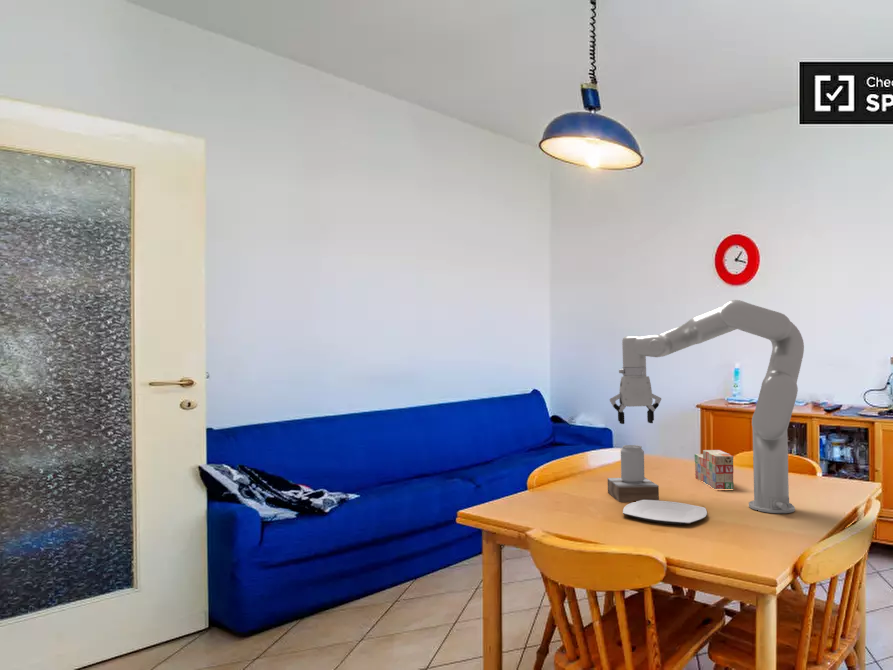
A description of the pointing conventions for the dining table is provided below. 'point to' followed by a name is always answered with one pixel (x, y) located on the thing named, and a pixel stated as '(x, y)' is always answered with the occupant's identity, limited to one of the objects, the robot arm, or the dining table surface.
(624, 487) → the riser
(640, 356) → the robot arm
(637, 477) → the can
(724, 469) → the stack of blocks
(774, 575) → the dining table surface
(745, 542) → the dining table surface
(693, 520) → the plate
